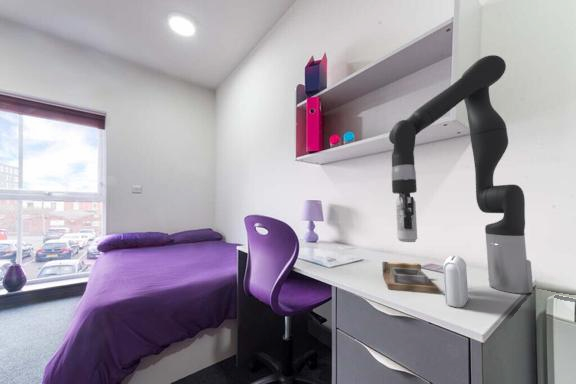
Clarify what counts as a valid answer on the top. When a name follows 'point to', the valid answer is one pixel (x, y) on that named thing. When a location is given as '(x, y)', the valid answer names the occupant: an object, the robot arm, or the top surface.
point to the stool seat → (409, 280)
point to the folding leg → (399, 266)
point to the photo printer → (455, 281)
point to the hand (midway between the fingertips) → (405, 227)
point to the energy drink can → (403, 233)
